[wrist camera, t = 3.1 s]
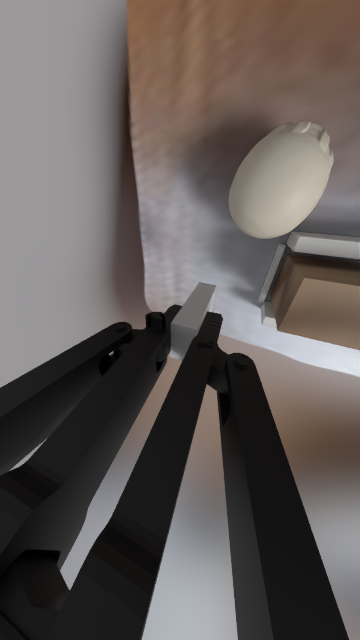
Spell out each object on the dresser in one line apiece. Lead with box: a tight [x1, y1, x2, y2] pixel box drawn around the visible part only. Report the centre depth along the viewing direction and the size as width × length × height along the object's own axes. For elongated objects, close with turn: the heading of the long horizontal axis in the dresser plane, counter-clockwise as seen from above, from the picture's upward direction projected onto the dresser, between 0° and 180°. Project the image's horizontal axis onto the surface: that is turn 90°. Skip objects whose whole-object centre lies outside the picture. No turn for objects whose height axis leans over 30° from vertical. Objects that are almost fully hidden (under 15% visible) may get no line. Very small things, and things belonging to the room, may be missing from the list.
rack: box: [258, 231, 360, 328], centre depth 16 cm, size 9×17×4 cm, turn 87°
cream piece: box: [228, 120, 334, 239], centre depth 13 cm, size 7×7×7 cm
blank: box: [271, 254, 360, 350], centre depth 15 cm, size 5×10×8 cm, turn 87°
